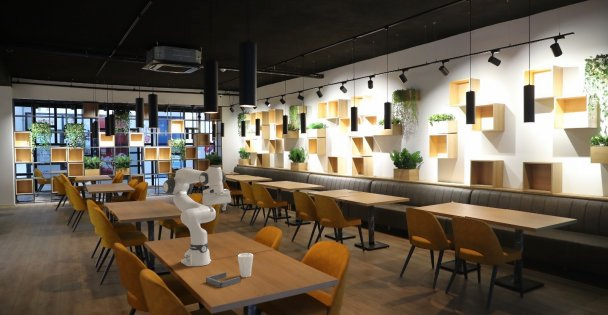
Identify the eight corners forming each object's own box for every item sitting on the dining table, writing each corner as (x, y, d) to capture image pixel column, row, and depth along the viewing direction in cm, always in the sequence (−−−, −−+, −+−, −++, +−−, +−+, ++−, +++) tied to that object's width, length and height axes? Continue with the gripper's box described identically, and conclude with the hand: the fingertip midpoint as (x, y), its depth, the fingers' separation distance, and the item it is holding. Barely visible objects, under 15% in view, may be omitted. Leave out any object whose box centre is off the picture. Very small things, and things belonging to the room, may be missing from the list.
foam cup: (242, 278, 253) (242, 257, 253) (235, 275, 260) (235, 254, 260) (256, 276, 258) (255, 255, 258) (248, 272, 266) (248, 252, 266)
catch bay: (206, 282, 247) (206, 277, 247) (225, 276, 257) (225, 272, 257) (220, 287, 237) (220, 282, 237) (240, 282, 247) (240, 277, 247)
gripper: (226, 188, 282) (228, 209, 281) (200, 191, 267) (202, 212, 266) (232, 188, 277) (233, 209, 277) (206, 191, 263) (207, 212, 262)
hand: (218, 211), depth 271 cm, fingers open, 8 cm apart
